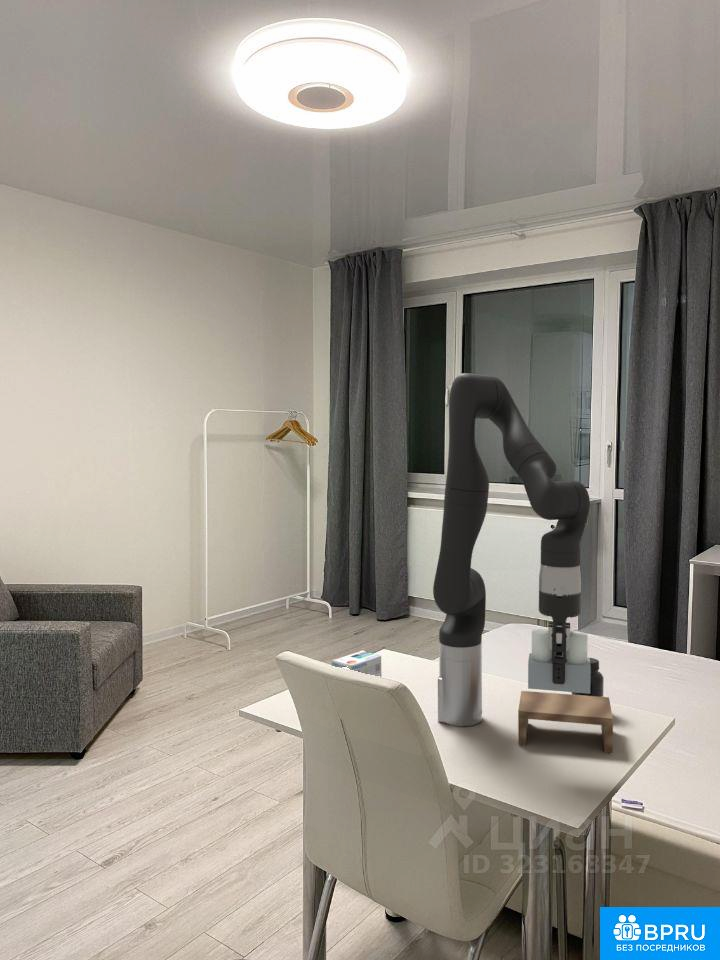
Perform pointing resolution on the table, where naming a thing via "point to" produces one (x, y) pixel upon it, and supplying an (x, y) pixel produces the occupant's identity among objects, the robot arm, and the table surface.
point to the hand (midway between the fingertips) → (558, 677)
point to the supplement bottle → (594, 680)
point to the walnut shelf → (566, 712)
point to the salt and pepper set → (574, 668)
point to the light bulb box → (361, 662)
